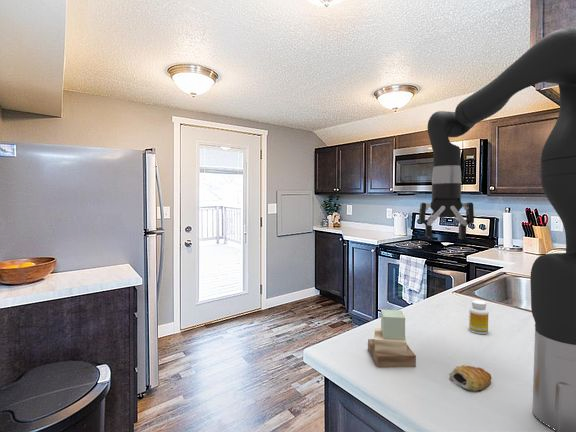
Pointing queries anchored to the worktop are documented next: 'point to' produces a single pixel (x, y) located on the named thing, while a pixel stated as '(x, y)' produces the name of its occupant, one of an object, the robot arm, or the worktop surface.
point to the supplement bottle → (478, 317)
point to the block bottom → (391, 357)
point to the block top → (389, 344)
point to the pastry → (470, 377)
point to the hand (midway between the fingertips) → (445, 238)
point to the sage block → (393, 324)
